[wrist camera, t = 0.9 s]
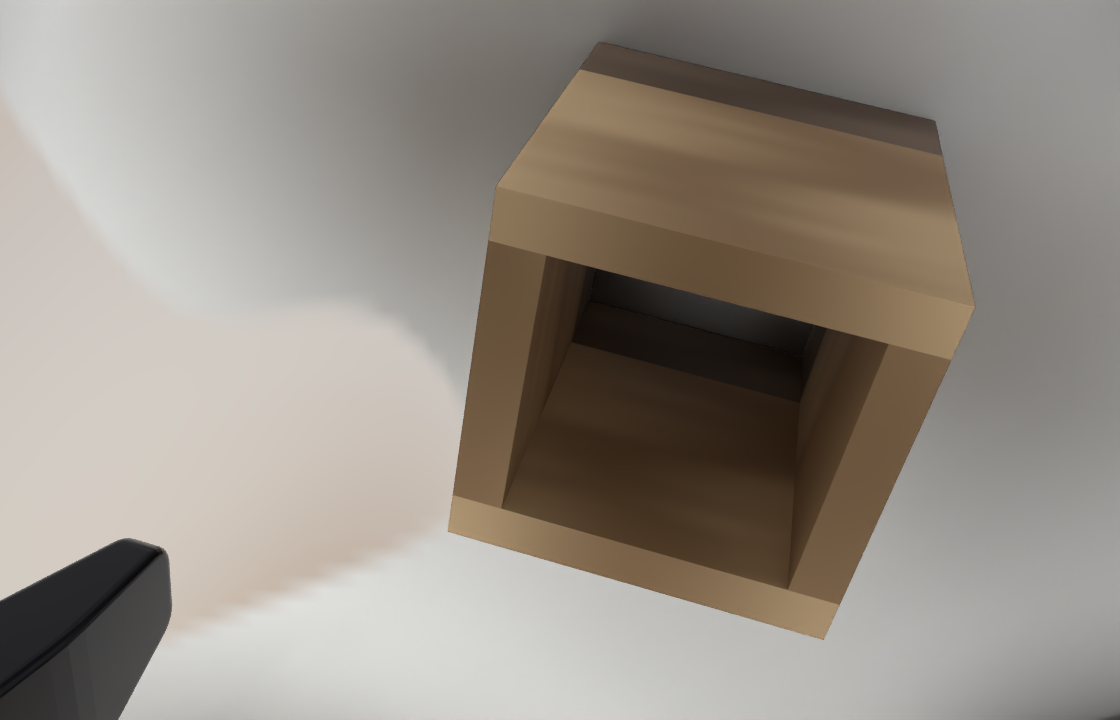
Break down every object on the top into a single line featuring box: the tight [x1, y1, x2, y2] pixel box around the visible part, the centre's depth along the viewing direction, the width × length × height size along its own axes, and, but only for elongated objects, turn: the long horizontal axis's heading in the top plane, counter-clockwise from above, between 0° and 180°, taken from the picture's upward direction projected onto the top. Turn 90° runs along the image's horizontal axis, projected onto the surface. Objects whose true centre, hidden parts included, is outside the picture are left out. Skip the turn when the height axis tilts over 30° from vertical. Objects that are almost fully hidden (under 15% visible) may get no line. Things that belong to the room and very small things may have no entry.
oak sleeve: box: [448, 42, 975, 640], centre depth 15 cm, size 5×5×6 cm
